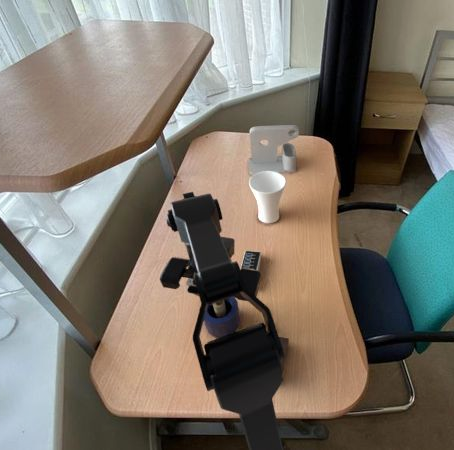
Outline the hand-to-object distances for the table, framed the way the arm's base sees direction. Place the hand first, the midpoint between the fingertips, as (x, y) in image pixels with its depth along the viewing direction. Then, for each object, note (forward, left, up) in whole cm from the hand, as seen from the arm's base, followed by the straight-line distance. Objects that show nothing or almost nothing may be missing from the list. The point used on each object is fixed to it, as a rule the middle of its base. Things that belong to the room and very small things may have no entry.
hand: (218, 301), depth 69 cm
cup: (+37, -2, -9) cm, 38 cm away
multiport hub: (+15, -2, -9) cm, 18 cm away
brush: (0, 0, -5) cm, 5 cm away
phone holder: (+64, +3, -9) cm, 65 cm away
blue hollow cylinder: (0, 0, -9) cm, 9 cm away
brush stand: (-7, -12, -9) cm, 16 cm away
